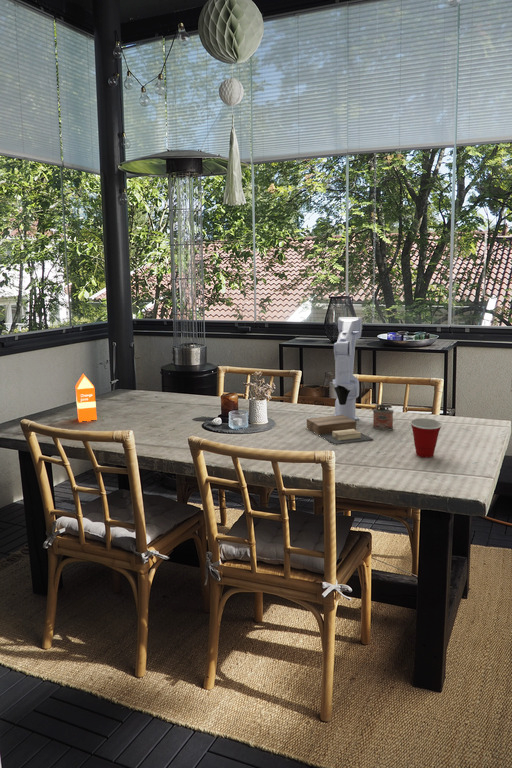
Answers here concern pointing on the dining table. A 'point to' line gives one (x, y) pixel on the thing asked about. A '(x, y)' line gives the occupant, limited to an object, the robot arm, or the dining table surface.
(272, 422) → the dining table surface
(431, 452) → the plastic cup
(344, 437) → the birch tile
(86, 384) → the orange juice
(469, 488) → the dining table surface
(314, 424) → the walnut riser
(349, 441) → the rubber mat
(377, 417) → the lighter
